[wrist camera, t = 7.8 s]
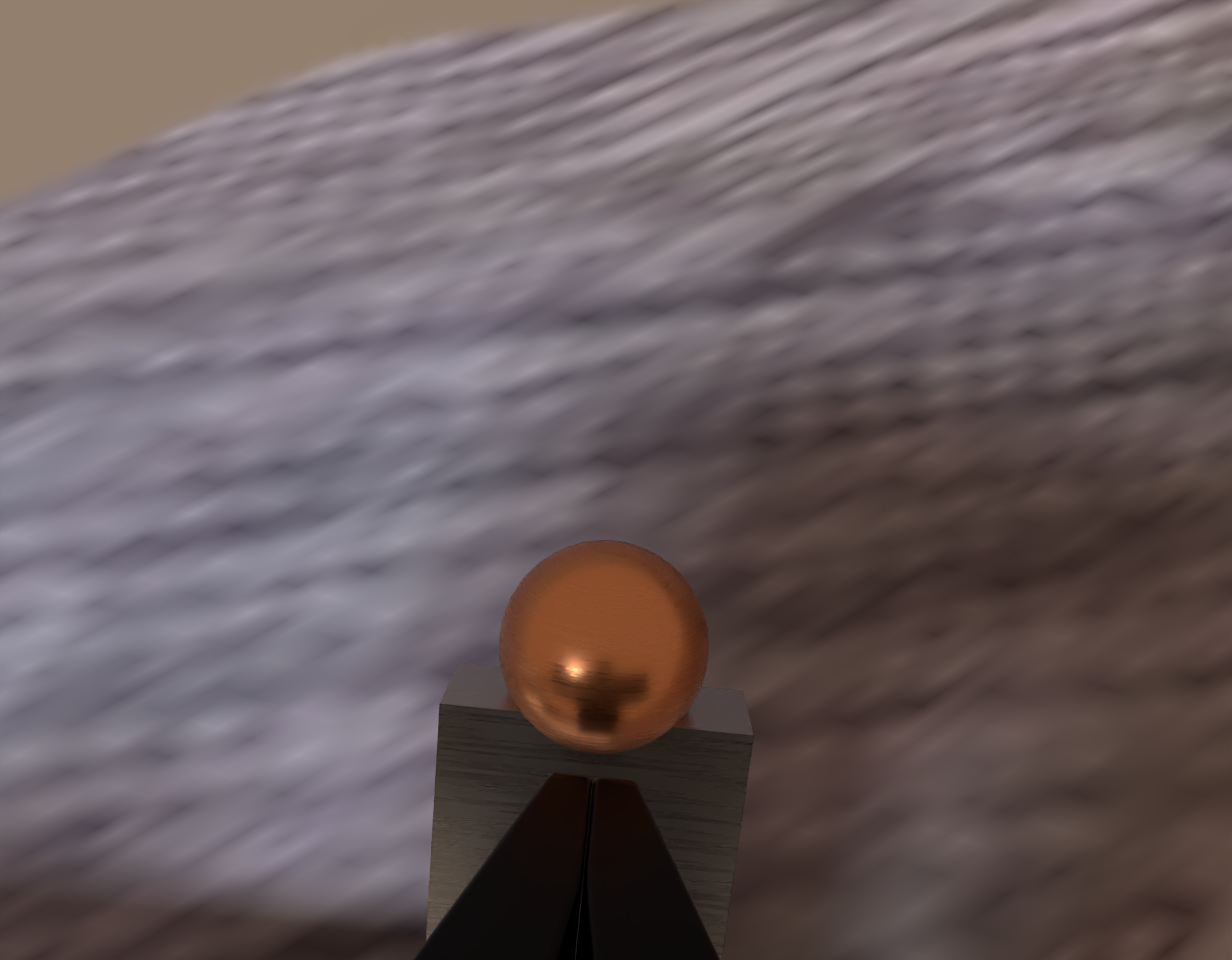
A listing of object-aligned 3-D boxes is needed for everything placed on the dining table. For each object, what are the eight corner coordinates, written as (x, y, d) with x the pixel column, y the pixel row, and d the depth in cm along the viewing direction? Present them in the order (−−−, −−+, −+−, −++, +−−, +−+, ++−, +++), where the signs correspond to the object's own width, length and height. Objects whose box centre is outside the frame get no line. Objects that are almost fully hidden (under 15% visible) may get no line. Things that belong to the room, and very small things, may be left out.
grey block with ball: (693, 1358, 10) (808, 600, 8) (375, 1325, 10) (413, 560, 8) (683, 1169, 12) (773, 532, 10) (421, 1142, 12) (459, 501, 10)
